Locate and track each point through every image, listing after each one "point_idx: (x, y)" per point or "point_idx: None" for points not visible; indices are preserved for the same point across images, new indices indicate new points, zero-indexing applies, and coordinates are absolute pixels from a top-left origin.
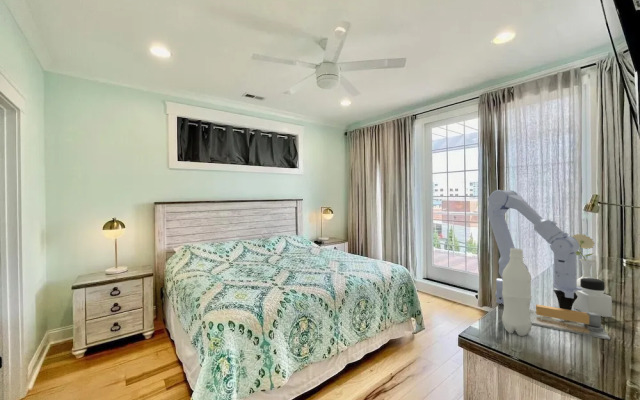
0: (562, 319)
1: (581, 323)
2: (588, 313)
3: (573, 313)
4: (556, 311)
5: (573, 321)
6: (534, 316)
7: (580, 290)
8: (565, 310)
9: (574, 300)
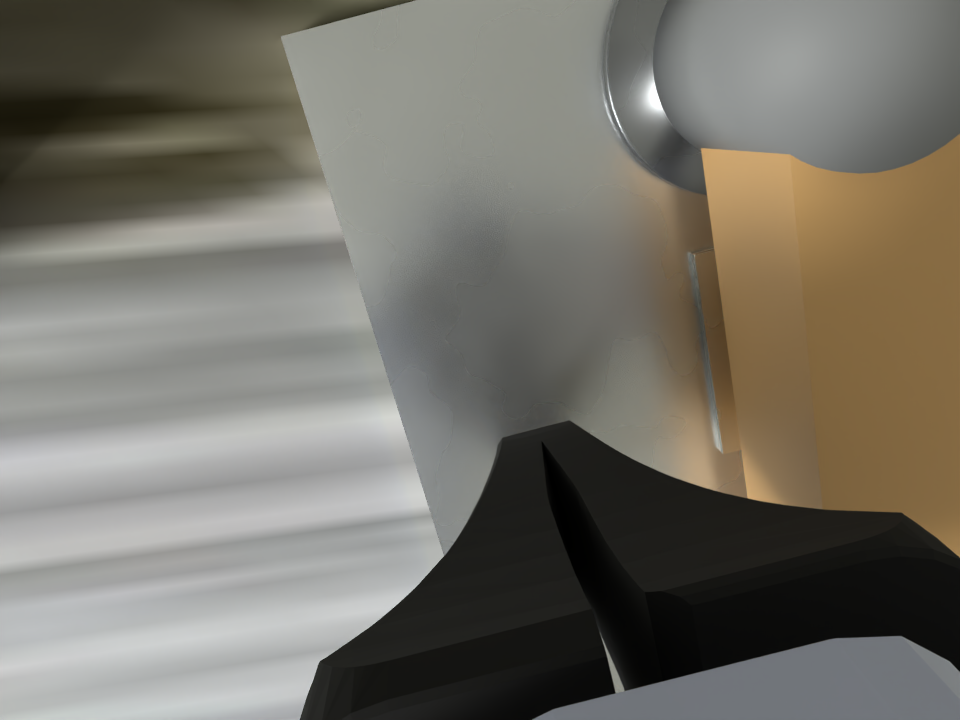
0: (702, 458)
1: (694, 228)
2: (895, 129)
3: (952, 379)
4: None
5: (716, 331)
6: None
7: (951, 687)
8: (921, 513)
9: (811, 518)
